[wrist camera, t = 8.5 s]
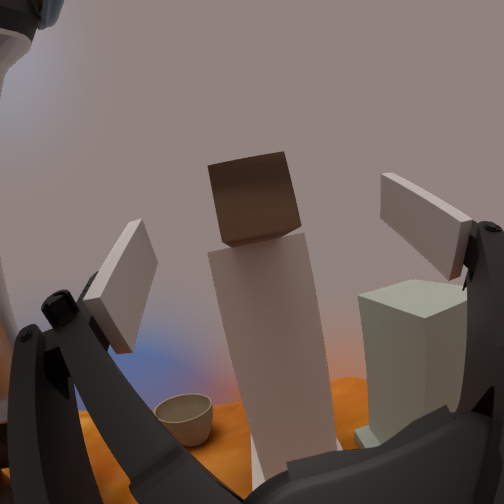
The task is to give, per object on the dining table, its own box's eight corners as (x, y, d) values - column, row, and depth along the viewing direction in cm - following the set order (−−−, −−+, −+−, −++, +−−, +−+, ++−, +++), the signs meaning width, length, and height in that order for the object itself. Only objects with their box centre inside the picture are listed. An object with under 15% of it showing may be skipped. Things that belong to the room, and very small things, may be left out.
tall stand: (358, 489, 22) (330, 226, 22) (256, 513, 22) (181, 257, 22) (327, 425, 38) (296, 238, 38) (253, 441, 38) (208, 256, 38)
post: (482, 460, 17) (508, 284, 17) (397, 510, 16) (410, 329, 17) (423, 410, 33) (419, 274, 33) (354, 439, 32) (339, 297, 32)
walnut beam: (301, 226, 14) (284, 151, 14) (222, 241, 14) (207, 165, 14) (267, 244, 38) (260, 215, 38) (237, 250, 38) (231, 221, 38)
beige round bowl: (159, 454, 36) (144, 421, 36) (176, 424, 46) (165, 394, 46) (216, 455, 35) (203, 421, 35) (226, 423, 45) (216, 391, 45)
